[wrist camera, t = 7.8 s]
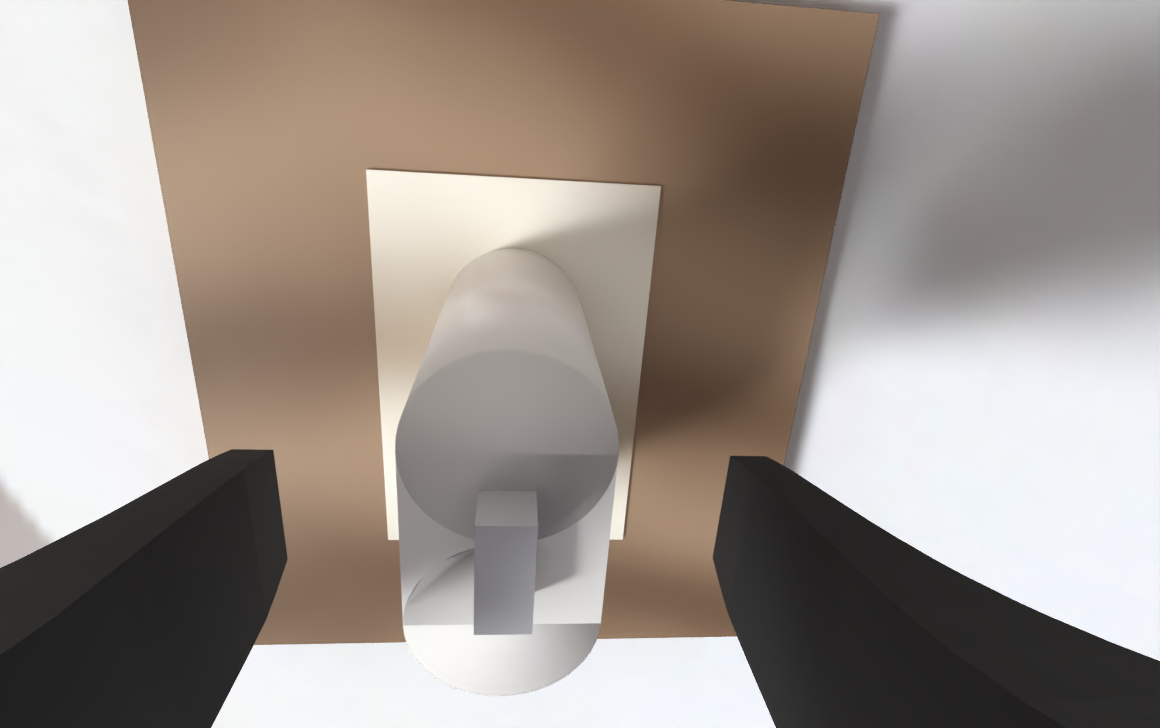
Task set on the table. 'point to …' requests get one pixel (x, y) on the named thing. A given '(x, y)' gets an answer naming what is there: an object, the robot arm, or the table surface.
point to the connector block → (505, 482)
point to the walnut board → (491, 222)
